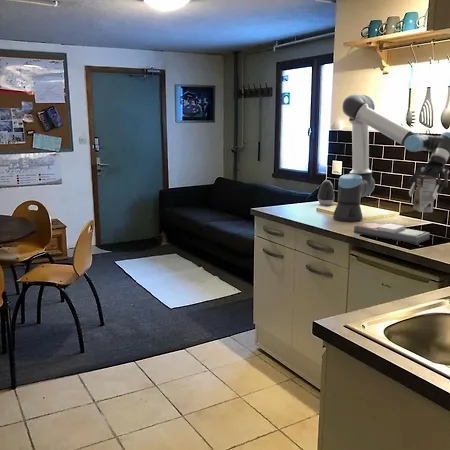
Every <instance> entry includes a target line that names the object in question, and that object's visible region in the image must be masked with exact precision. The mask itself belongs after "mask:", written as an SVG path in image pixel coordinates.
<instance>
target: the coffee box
mask: <svg viewBox="0 0 450 450" xmlns="http://www.w3.org/2000/svg"><path fill="white" fill-rule="evenodd" d="M436 186H437V177H436V176H435V177H434V176H430V175H421V174H420V175H416V183H415V190H414V193H413V194H414V196H413V204H412V205H413V206H412V208H413V209H414V211H417V212H419V213H433V212H434V204H435V203H434V202H435V199H433V196H432V195H433V193H434V191H435V189H436Z"/></svg>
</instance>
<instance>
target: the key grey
mask: <svg viewBox="0 0 450 450" xmlns="http://www.w3.org/2000/svg"><path fill="white" fill-rule="evenodd" d="M405 229H406V226H405V225H401V224H394V223H385V224H381V226H378V229H377V230H380V231H386V232H392V233H396V232H399V231H402V230H405Z"/></svg>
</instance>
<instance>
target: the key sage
mask: <svg viewBox="0 0 450 450" xmlns="http://www.w3.org/2000/svg"><path fill="white" fill-rule="evenodd" d="M406 229H407V230H404V231H401V232H398V234H403V235H408V236H414V237H417V236H420V235H422V234H425V233H426V232H427V231H422V230H418V229H417V230H416V229H412V228H411V229H410V228H406Z"/></svg>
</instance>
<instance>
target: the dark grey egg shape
mask: <svg viewBox="0 0 450 450" xmlns="http://www.w3.org/2000/svg"><path fill="white" fill-rule="evenodd" d="M317 200H318V203H319V204H320V205H322V206H331V205H332V204H333V202H334V201H335V191H334V186H333V183H332V182H331V180H328V179H326V180H323V182H322V183H321V185H320V187H319V189H318V194H317Z"/></svg>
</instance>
